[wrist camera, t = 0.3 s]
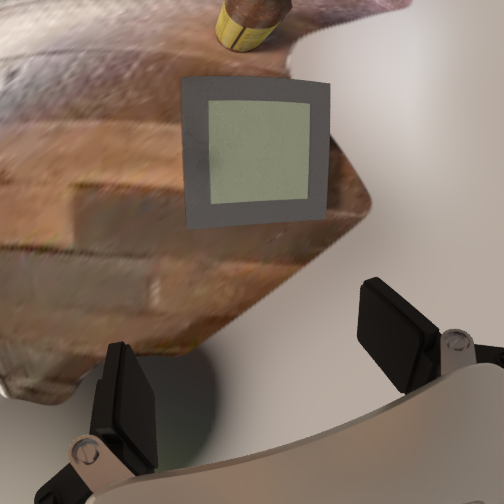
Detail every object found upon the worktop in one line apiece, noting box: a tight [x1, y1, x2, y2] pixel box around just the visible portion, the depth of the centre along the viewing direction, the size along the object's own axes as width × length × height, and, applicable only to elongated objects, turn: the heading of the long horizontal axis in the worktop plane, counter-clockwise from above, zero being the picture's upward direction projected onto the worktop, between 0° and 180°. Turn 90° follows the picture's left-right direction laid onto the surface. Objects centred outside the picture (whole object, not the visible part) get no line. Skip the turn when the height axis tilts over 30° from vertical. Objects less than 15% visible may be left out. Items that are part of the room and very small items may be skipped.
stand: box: [181, 76, 330, 230], centre depth 36 cm, size 18×18×4 cm
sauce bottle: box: [216, 0, 292, 53], centre depth 22 cm, size 7×6×20 cm
